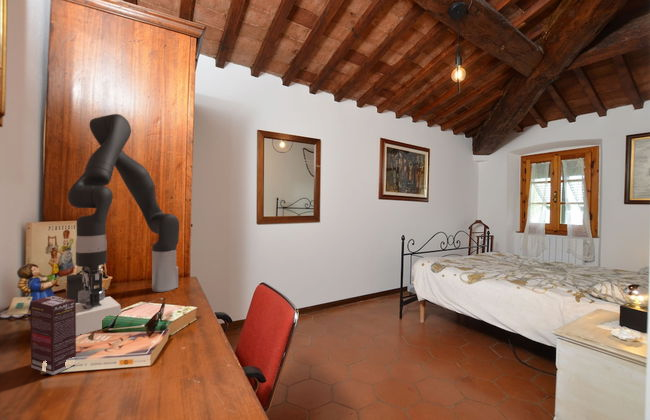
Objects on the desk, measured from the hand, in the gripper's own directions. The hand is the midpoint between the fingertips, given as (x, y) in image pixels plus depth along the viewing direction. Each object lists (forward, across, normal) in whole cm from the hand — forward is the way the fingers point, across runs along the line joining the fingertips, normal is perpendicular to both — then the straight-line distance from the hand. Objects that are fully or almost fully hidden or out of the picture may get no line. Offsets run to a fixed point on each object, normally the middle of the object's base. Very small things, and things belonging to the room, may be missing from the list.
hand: (92, 302), depth 88 cm
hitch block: (+7, 0, 0) cm, 7 cm away
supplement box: (+7, -21, +11) cm, 25 cm away
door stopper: (+7, +21, 0) cm, 22 cm away
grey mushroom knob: (+5, 0, 0) cm, 5 cm away
